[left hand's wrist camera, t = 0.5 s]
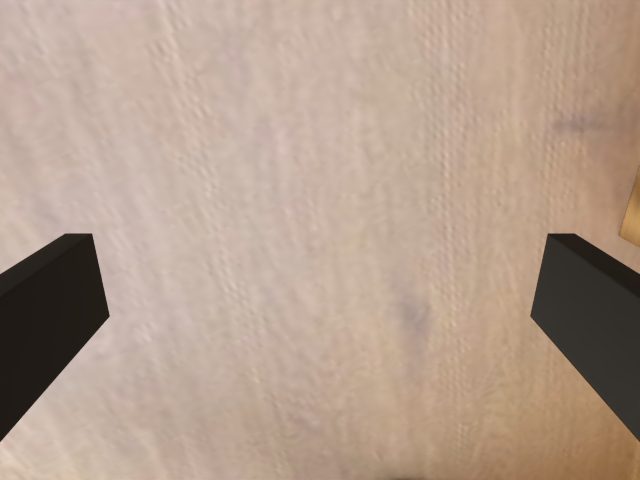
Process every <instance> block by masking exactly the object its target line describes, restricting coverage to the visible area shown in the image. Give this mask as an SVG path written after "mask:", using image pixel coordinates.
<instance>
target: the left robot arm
mask: <svg viewBox="0 0 640 480" xmlns="http://www.w3.org/2000/svg"><path fill="white" fill-rule="evenodd" d="M109 316H110V315H109V311H108V306H107V301H106V297H105V292H104V287H103V283H102V278H101V273H100V268H99V264H98V259H97V254H96V250H95V245H94V240H93V236H92V234H64V235H62V236H61V237H59V238H58V239H56V240H54V241H53V242H51V243H50V244H48V245H46V246H45V247H43V248H42V249H40V250H38V251H37V252H35V253H34V254H32V255H30V256H29V257H27V258H26V259H24V260H22V261H21V262H19V263H18V264H16V265H14V266H13V267H11V268H9V269H8V270H6V271H5V272H3V273H1V274H0V442H1V441H2V439H3V438H4V437H5V436H6V435H7V434H8V433H9V431H10V430H11V429H12V428H13V427H14V426H15V424H16V423H17V422H18V421H19V420H20V419H21V418H22V416H23V415H24V414H25V413H26V412H27V411H28V410H29V408H30V407H31V406H32V405H33V404H34V403H35V402H36V400H37V399H38V398H39V397H40V396H41V395H42V393H43V392H44V391H45V390H46V389H47V388H48V387H49V385H50V384H51V383H52V382H53V381H54V380H55V379H56V377H57V376H58V375H59V374H60V373H61V372H62V370H63V369H64V368H65V367H66V366H67V365H68V364H69V362H70V361H71V360H72V359H73V358H74V357H75V356H76V354H77V353H78V352H79V351H80V350H81V349H82V347H83V346H84V345H85V344H86V343H87V342H88V341H89V339H90V338H91V337H92V336H93V335H94V334H95V333H96V331H97V330H98V329H99V328H100V327H101V326H102V324H103V323H104V322H105V321H106V320H107V319H108V318H109ZM530 316H531V318H532V319H533V320H534V321H535V322H536V323H537V324H538V326H539V327H540V328H541V329H542V330H543V331H544V333H545V334H546V335H547V336H548V337H549V338H550V339H551V341H552V342H553V343H554V344H555V345H556V346H557V347H558V349H559V350H560V351H561V352H562V353H563V354H564V356H565V357H566V358H567V359H568V360H569V361H570V362H571V364H572V365H573V366H574V367H575V368H576V369H577V370H578V372H579V373H580V374H581V375H582V376H583V377H584V379H585V380H586V381H587V382H588V383H589V384H590V385H591V387H592V388H593V389H594V390H595V391H596V392H597V393H598V395H599V396H600V397H601V398H602V399H603V400H604V402H605V403H606V404H607V405H608V406H609V407H610V408H611V410H612V411H613V412H614V413H615V414H616V415H617V416H618V418H619V419H620V420H621V421H622V422H623V423H624V424H625V426H626V427H627V428H628V429H629V430H630V431H631V433H632V434H633V435H634V436H635V437H636V438H637V439H638V441H639V442H640V274H639V273H637V272H635V271H634V270H632V269H631V268H629V267H627V266H626V265H624V264H622V263H621V262H619V261H618V260H616V259H614V258H613V257H611V256H610V255H608V254H606V253H605V252H603V251H602V250H600V249H598V248H597V247H595V246H594V245H592V244H590V243H589V242H587V241H586V240H584V239H582V238H581V237H579V236H578V235H576V234H548V236H547V240H546V245H545V250H544V254H543V259H542V264H541V268H540V273H539V278H538V283H537V287H536V292H535V297H534V301H533V306H532V311H531V315H530Z"/></svg>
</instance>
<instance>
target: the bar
mask: <svg viewBox="0 0 640 480" xmlns="http://www.w3.org/2000/svg"><path fill="white" fill-rule="evenodd" d="M619 237H621V238H623V239H625V240H627V241H629V242H630V243H632V244H634V245H636V246H638V247H640V167H639V170H638V174H637V177H636V180H635V184H634V187H633V190H632V194H631V197H630V200H629V204H628V207H627V210H626V214H625V217H624V220H623V224H622V227H621V230H620V234H619Z"/></svg>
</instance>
